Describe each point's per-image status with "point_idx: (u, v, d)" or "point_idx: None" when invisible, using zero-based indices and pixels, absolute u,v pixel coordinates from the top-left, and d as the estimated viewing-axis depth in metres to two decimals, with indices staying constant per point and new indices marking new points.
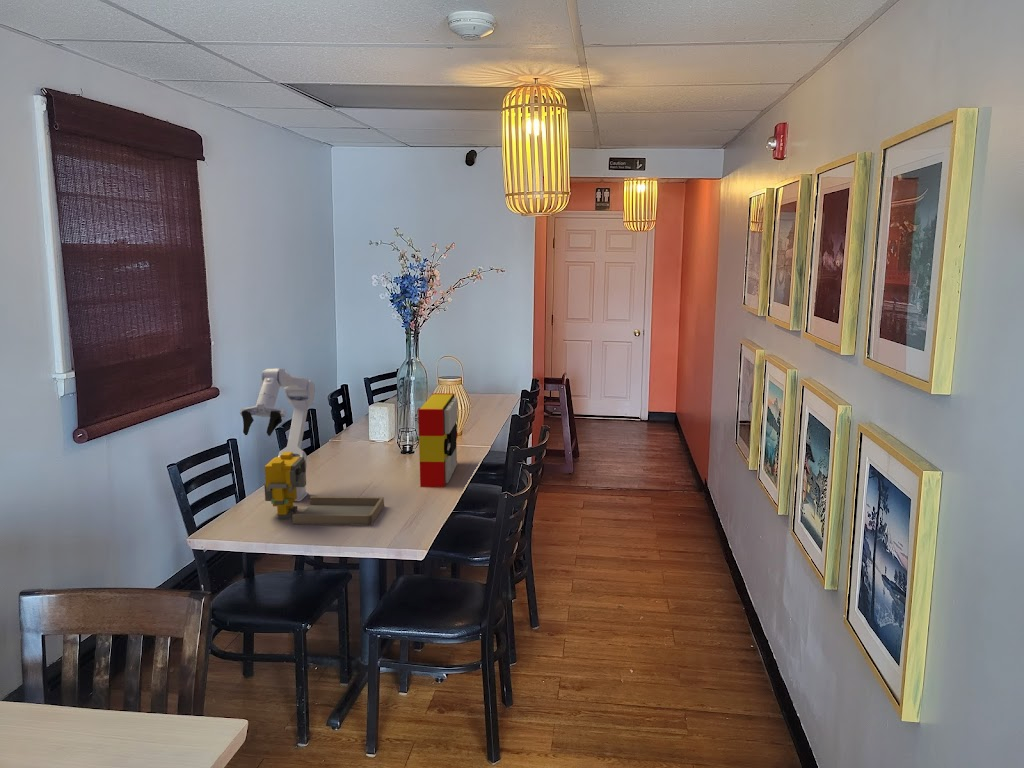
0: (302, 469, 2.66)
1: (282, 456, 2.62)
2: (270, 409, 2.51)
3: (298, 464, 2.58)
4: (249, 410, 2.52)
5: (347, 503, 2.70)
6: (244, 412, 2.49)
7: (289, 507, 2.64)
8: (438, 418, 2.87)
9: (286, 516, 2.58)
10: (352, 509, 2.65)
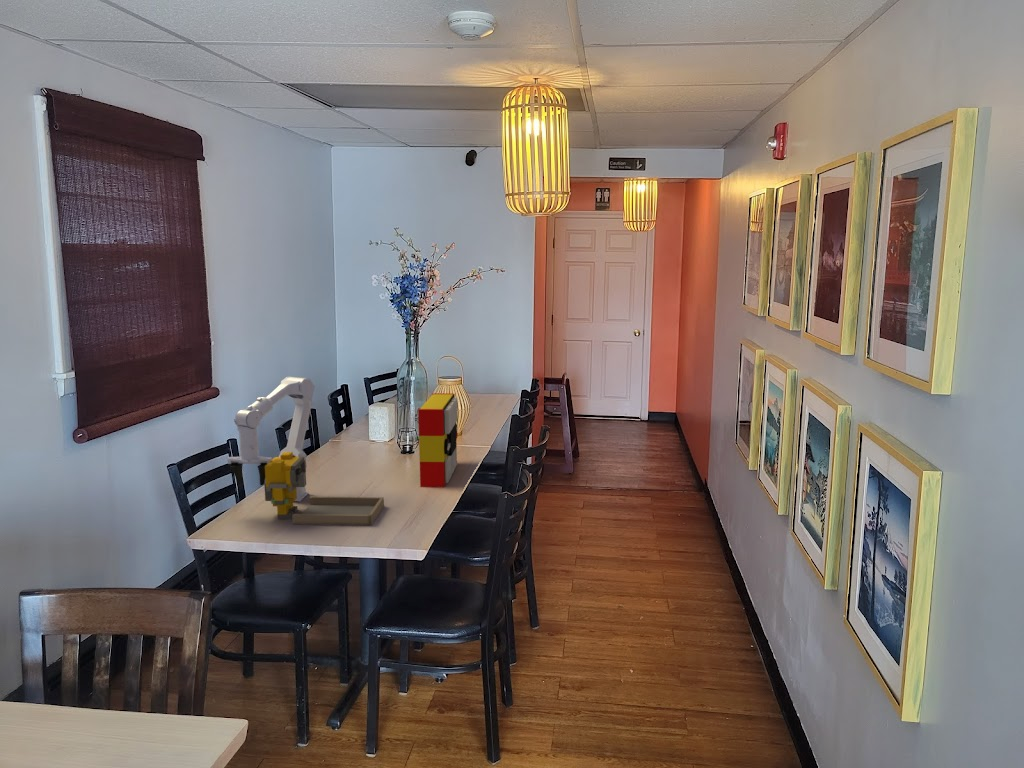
0: (302, 469, 2.66)
1: (282, 456, 2.62)
2: (256, 461, 2.58)
3: (298, 464, 2.58)
4: None
5: (347, 503, 2.70)
6: (232, 468, 2.58)
7: (289, 507, 2.64)
8: (438, 418, 2.87)
9: (286, 516, 2.58)
10: (352, 509, 2.65)
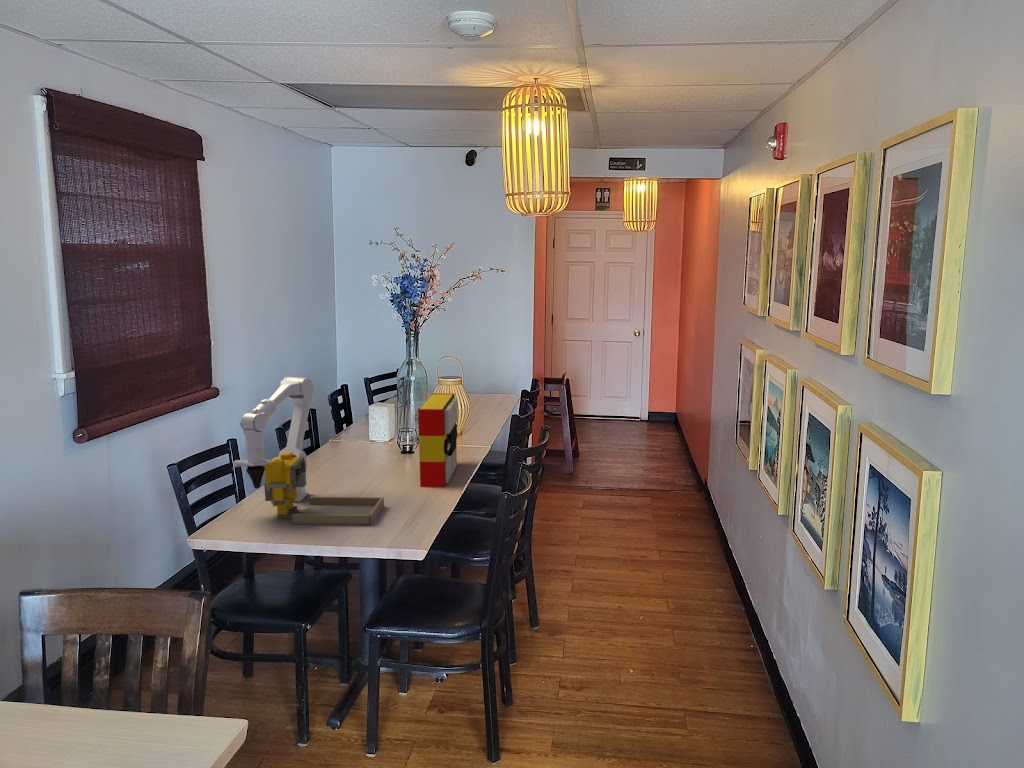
0: (302, 469, 2.66)
1: (282, 456, 2.62)
2: (262, 464, 2.58)
3: (298, 464, 2.58)
4: None
5: (347, 503, 2.70)
6: (249, 471, 2.58)
7: (289, 507, 2.64)
8: (438, 418, 2.87)
9: (286, 516, 2.58)
10: (352, 509, 2.65)
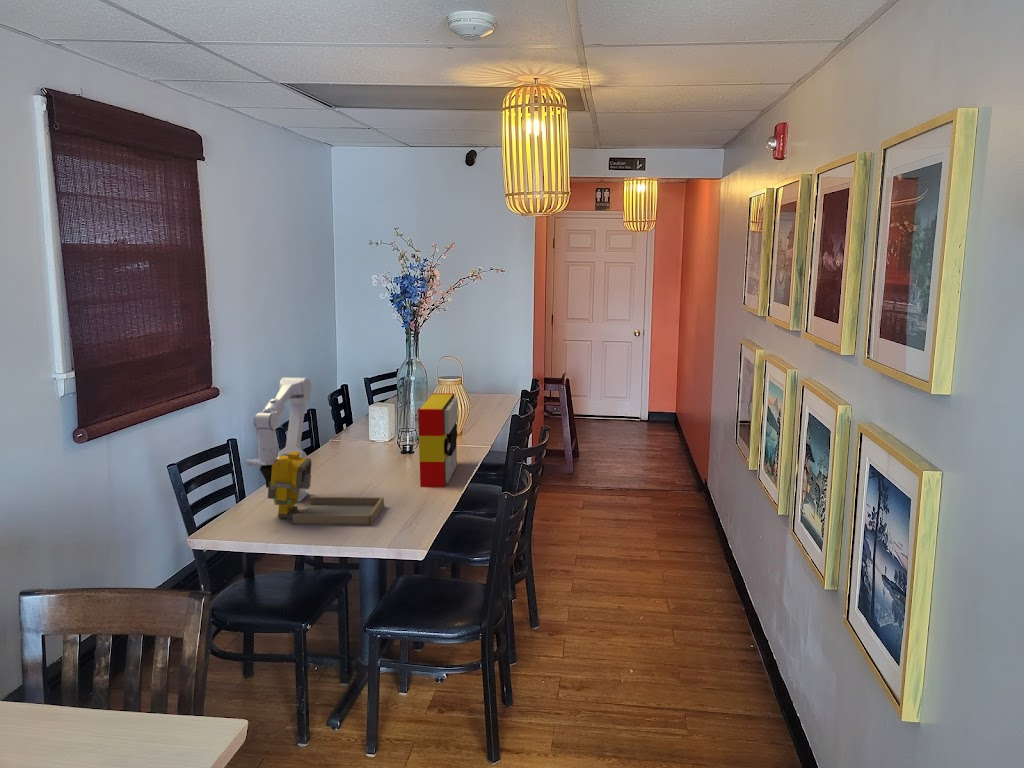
0: (307, 470, 2.66)
1: (289, 455, 2.62)
2: None
3: (305, 466, 2.58)
4: None
5: (347, 503, 2.70)
6: (262, 470, 2.57)
7: (290, 507, 2.64)
8: (438, 418, 2.87)
9: (286, 516, 2.58)
10: (352, 509, 2.65)
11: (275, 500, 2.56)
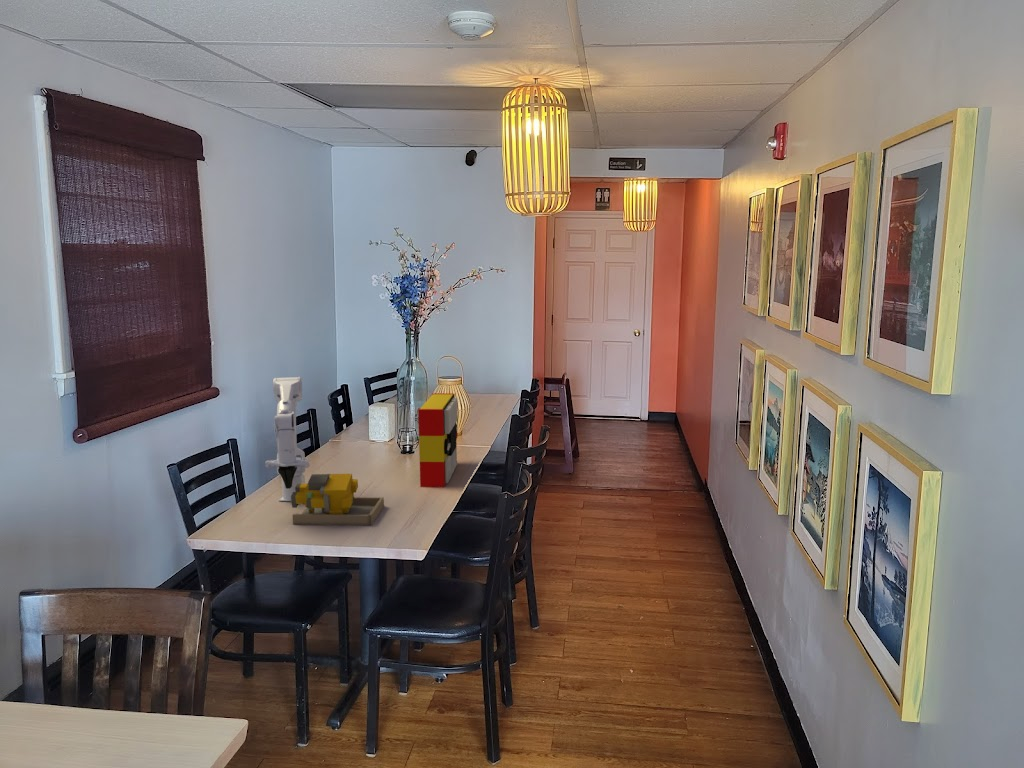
0: None
1: (354, 486, 2.62)
2: (294, 465, 2.58)
3: None
4: None
5: None
6: (281, 471, 2.57)
7: None
8: (438, 418, 2.87)
9: (294, 503, 2.56)
10: (352, 509, 2.65)
11: (308, 495, 2.53)
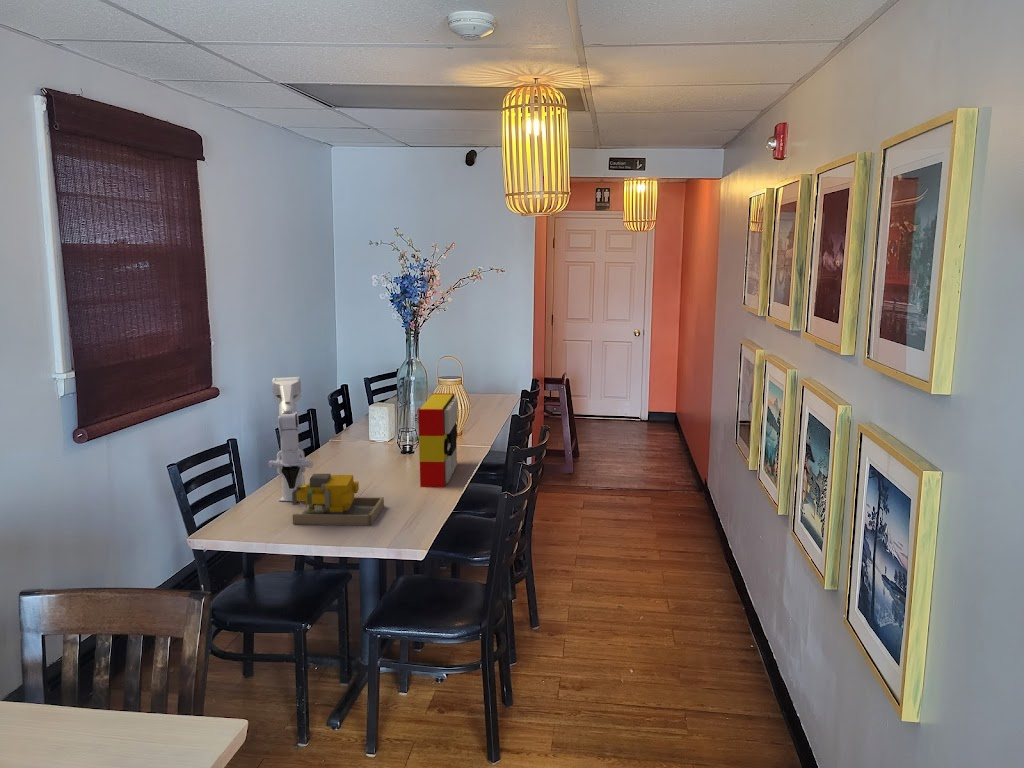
0: None
1: (355, 487, 2.64)
2: (297, 465, 2.58)
3: None
4: None
5: None
6: (284, 471, 2.57)
7: None
8: (438, 418, 2.87)
9: (294, 501, 2.57)
10: (352, 509, 2.65)
11: (309, 491, 2.55)
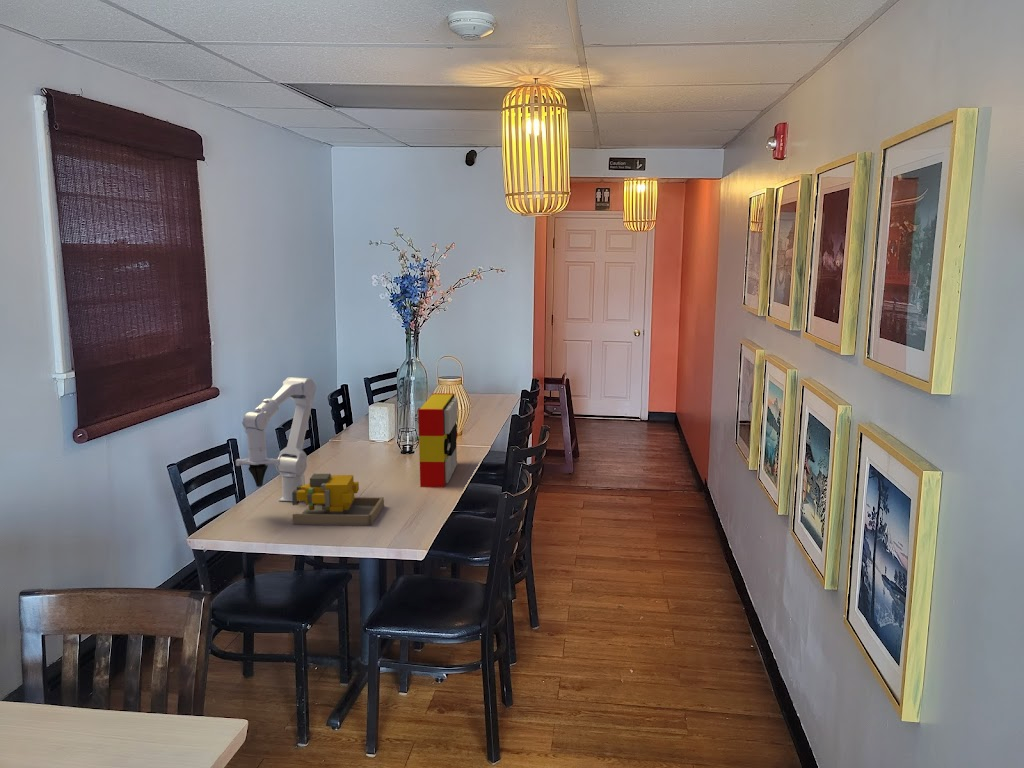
0: None
1: (355, 487, 2.64)
2: None
3: None
4: None
5: None
6: (251, 469, 2.59)
7: None
8: (438, 418, 2.87)
9: (294, 500, 2.57)
10: (352, 509, 2.65)
11: (309, 491, 2.55)
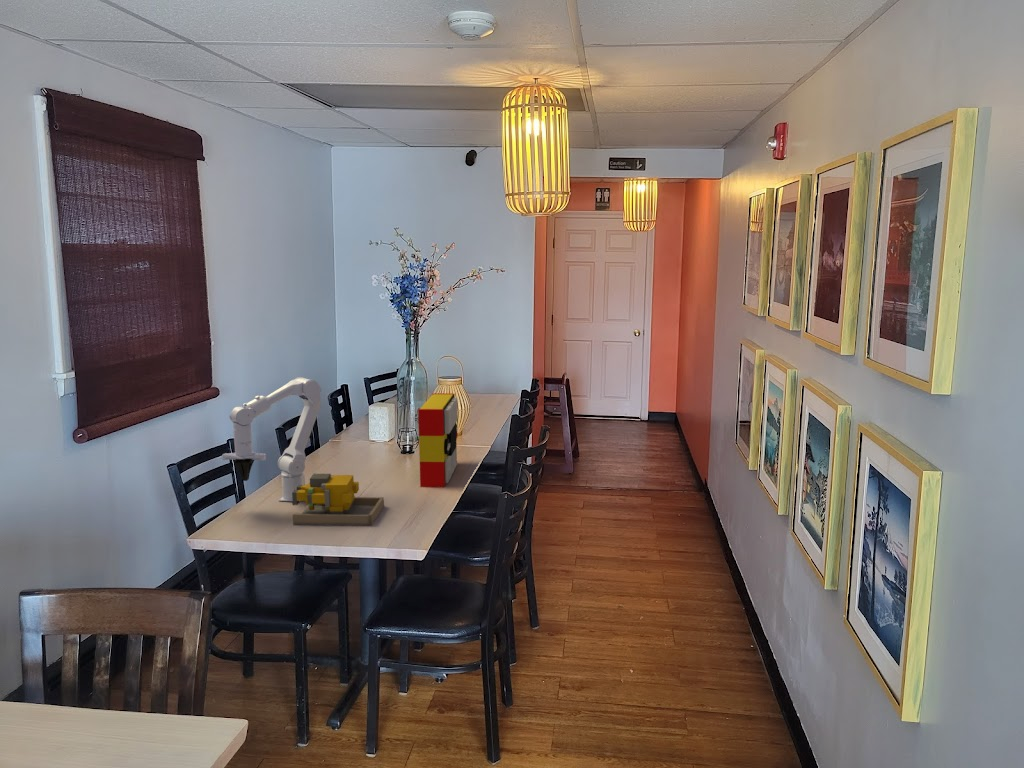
0: None
1: (355, 487, 2.64)
2: (250, 457, 2.63)
3: None
4: None
5: None
6: (237, 464, 2.63)
7: None
8: (438, 418, 2.87)
9: (294, 500, 2.57)
10: (352, 509, 2.65)
11: (309, 491, 2.55)
